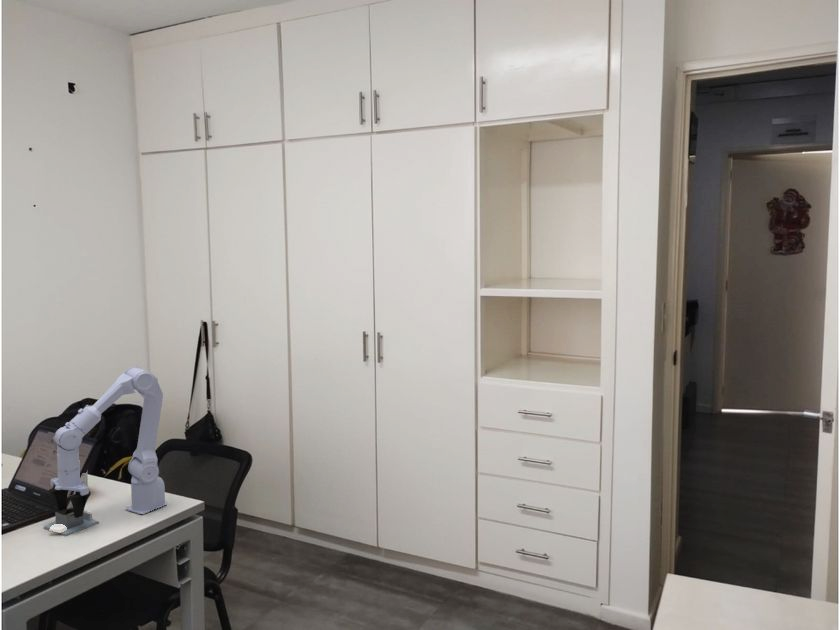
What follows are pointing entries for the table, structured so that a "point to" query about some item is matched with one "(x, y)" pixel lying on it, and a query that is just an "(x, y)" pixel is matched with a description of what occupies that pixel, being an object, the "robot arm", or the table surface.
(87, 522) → the keeper
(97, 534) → the table surface
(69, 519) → the grey open box
